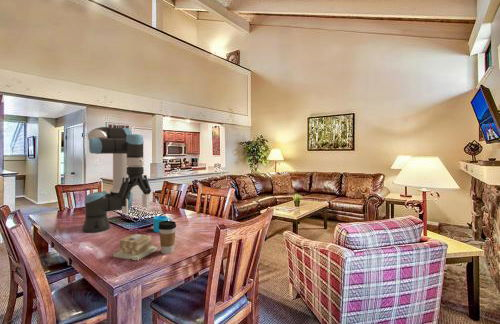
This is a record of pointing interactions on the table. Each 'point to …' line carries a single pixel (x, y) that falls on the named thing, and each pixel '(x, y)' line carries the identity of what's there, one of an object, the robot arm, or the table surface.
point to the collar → (135, 245)
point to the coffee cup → (167, 236)
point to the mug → (156, 222)
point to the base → (135, 257)
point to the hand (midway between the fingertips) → (135, 209)
